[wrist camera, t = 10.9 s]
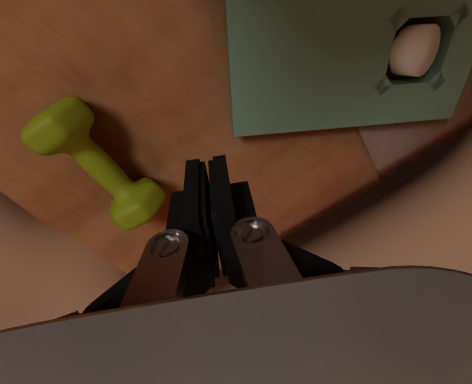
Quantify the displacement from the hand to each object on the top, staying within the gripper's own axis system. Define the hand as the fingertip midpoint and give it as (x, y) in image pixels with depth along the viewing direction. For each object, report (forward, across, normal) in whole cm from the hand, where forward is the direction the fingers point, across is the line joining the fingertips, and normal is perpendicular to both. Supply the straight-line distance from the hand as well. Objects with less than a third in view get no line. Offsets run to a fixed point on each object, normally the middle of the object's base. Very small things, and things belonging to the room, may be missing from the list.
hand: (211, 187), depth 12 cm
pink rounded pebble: (+22, -22, 0) cm, 32 cm away
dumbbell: (+24, +14, +8) cm, 29 cm away
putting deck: (+24, -17, 0) cm, 29 cm away
